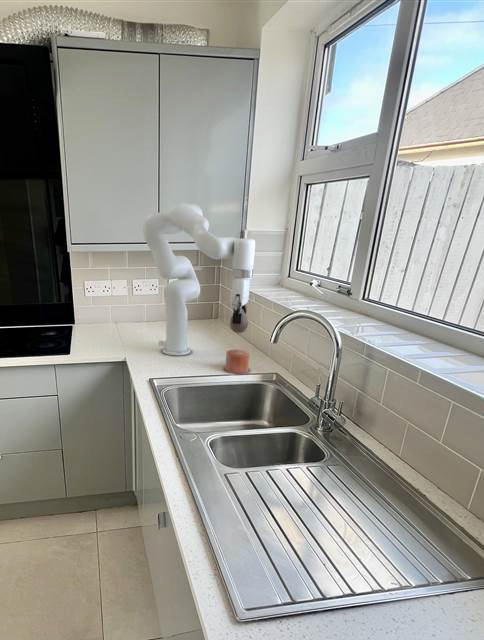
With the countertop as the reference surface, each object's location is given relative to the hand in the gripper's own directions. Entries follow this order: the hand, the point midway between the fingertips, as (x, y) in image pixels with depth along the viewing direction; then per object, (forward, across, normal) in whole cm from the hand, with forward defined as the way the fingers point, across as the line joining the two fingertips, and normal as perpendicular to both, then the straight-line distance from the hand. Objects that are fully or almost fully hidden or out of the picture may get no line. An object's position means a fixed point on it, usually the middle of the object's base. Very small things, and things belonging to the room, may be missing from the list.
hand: (239, 321), depth 156 cm
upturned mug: (+19, 0, +1) cm, 19 cm away
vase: (+4, 0, 0) cm, 4 cm away
